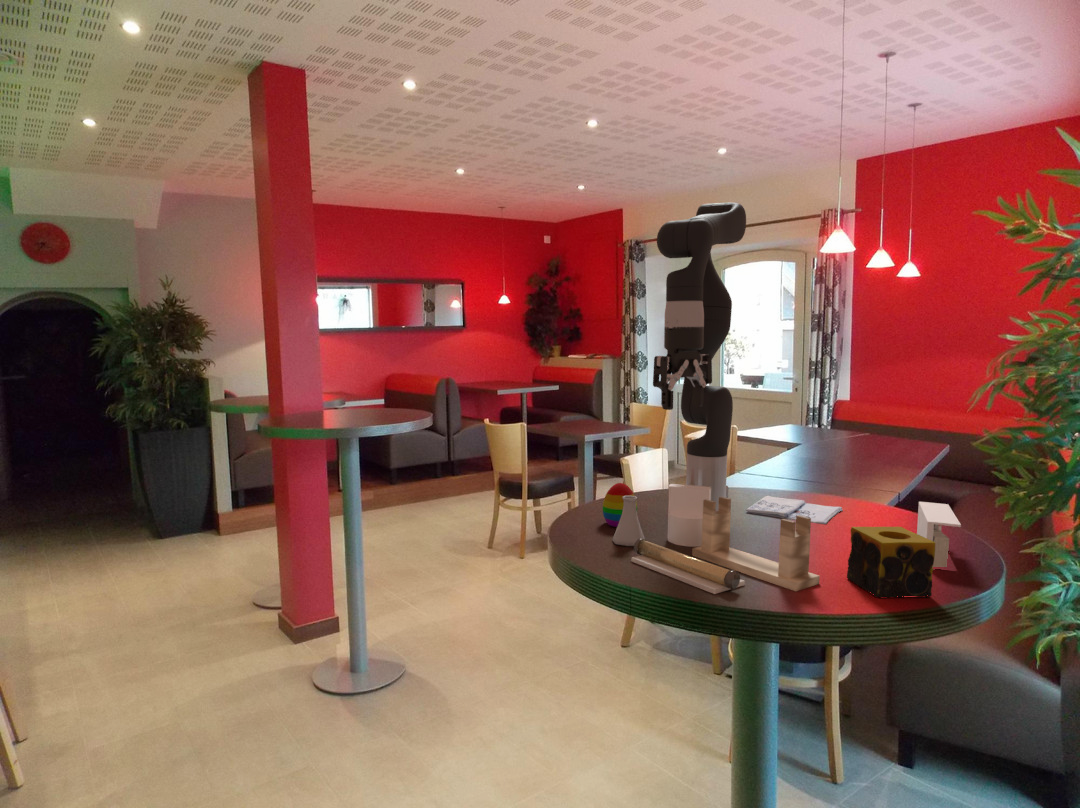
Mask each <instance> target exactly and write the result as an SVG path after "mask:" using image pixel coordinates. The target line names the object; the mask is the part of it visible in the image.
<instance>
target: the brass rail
mask: <svg viewBox="0 0 1080 808" xmlns="http://www.w3.org/2000/svg"><path fill="white" fill-rule="evenodd" d="M633 550H634V553H635V554H636V555H638V556H640V555H645V556H647V557H650V558H653V559H655V560H658V561H661V562H663V563H666V564H669V565H671V566H674V567H677V568H679V569H682V570H685V571H687V572H690V573H693V574H695V575H698V576H701V577H703V578H706V579H709V580H711V581H714V582H717V583H719V584H722V585H725V586H726V587H727V588H729V589H730V590H736V589H737V588H738V587H737V586H738V585H739V582H740V579H741V575H740V573H739V572H738V571H735V570H732V569H729V568H726V567H723V566H720V565H717V564H715V563H712V562H709V561H706V560H703V559H700V558H697V557H694V556H692V555H688V554H684V553H681V552H679V551H676V550H674V549H671V548H667V547H666V546H665V547H664V546H662V545H659V544H656V543H653V542H650V541H648V540H647V539H646V538H645V539H642V538H640V539H638V540H637V541H636V542H635V544H634V546H633ZM736 587H737V588H736Z"/></svg>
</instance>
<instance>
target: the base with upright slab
mask: <svg viewBox="0 0 1080 808" xmlns="http://www.w3.org/2000/svg"><path fill="white" fill-rule="evenodd" d="M705 499H707V500H711V487H706V486H693V485H686V484H681V483H679V484H676V483H670V484H669V485H668V511H667V515H668V517H667V541H668V542H669V543H671V544H672V545H673V544H674V545H677V546H682V547H683V546H684V547H692V548H696V547H700V546H702V522H703V500H705Z"/></svg>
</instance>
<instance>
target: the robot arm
mask: <svg viewBox="0 0 1080 808" xmlns="http://www.w3.org/2000/svg"><path fill="white" fill-rule="evenodd" d="M746 229H747V214H746V210H745V208H744V206H743V205H742V204H741V203H738V202H730V201H729V202H717V203H716V202H714V203H703V204H701V205H699V206H698V208H697V211H696V215H694V216H693V217H689V218H687V219H680V220H679V219H678V220H669V221H666V222H665V223H664V224H662V226H661V227H660V228H659V229H658V232H657V235H656V246H657V250H658V251H659V253H660V254H661V255H662V256H663V257H665V258H667V259H682V258H683V259H685V258H691V260H690V262H689V263H688V265H687V266H686V267H684V268H681V269H676V270H674V271H671V272H669V273H668V274H667V276H666V281H665V285H666V287H665V288H666V289H665V290H666V291H665V293H666V294H665V295H666V296H665V309H664V332H663V333H664V335H663V337H664V340H663V343H664V344H663V347H664V349H665V350H666V351H667V353H666V356H665V355H655V356H654V357H653V358H654V359H653V376H652V386H653V387H654V388H658V389H660V391H661V395H660V396H661V401H660V402H661V404H660V405H661V406H662V407H661V408H662V409H663V410H666V411H672V410H673V409H674V390H673V389H674V388H675V385H676V383H678V382H679V381H680V379H681V378H683V384H682V389H681V390H682V392H681V397H680V398H681V399H680V410H681V415H682V416H681V417H682V418H683V420H684V421H685V422H687V423H689V424H694V425H702V426H706V427H705V433H704V434H703V435H702V436H700V437H697V438H694V439H690V440H688V442H687V444H686V469H685V473H686V474H685V485H693V486H706V487H711V501H715V502H716V511H718V504H719V497H726V498H729V486H728V485H727V471H728V469H727V468H728V467H727V465H728V463H727V462H728V448H729V446H730V441H731V432H732V431H731V430H732V422H733V410H734V408H733V407H734V403H733V397H732V396H733V395H732V393H731V391H730V390H729V389H728V388H727V387H725V386H716V385H711V384H712V383H713V368H712V367H713V366H712V364H713V363H712V361H713V359H714V358H715V355H716V354H717V352H718V351H719V349H720V348H721V346H722V345H723V343H724V342H725V340H726V338H727V337H728V335H729V333H730V329H731V322H732V308H733V307H732V306H733V302H732V298H731V295H730V293H729V291H728V289H727V287H726V286H725V284H724V282H723V281H722V279H721V277H720V276H719V274H718V271H717V269H716V268H715V265H714V262H713V259H712V253H711V251H712V249H713V247H714V246H716V245H730V244H736V243H739V242H740V241H741V240H742V239H743V238H744V235H745V232H746Z"/></svg>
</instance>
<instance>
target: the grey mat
mask: <svg viewBox="0 0 1080 808" xmlns="http://www.w3.org/2000/svg"><path fill="white" fill-rule="evenodd" d="M630 561H631V563H635V564H636V565H640V566H642V567H644V568H646V569H648V570H649V569H650V570H653V571H655V572H657V573H660V574H661V575H664V576H665V575H666V576H667V577H670V578H672V579H674V580H677V581H680V582H683V583H685V584H687V585H691V586H693V587H695V588H697V589H700V590H704V591H706V592H708V593H711V594H713V595H716V594H719V593H723V592H726V591H727V592H728V591H729V590H730V591H731V589H729V588H727V587H726V586H725V585H722V584H719V583H717V582H714V581H711V580H709V579H706V578H703V577H701V576H698V575H695V574H693V573H690V572H687V571H685V570H682V569H679V568H677V567H674V566H671V565H669V564H666V563H663V562H661V561H658V560H655V559H653V558H650V557H647V556H645V555H637V556H632V557H631V560H630ZM745 585H746V581H745V580H743V579H741V578H740V582H739V585H738V586H737V587H736V588H735V589H737V588H739V587H743V586H745Z"/></svg>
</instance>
